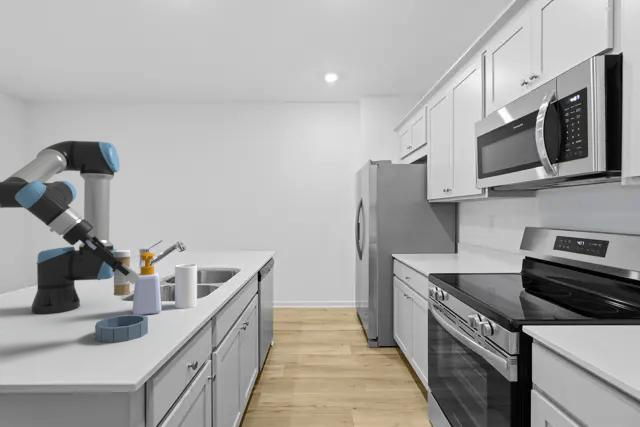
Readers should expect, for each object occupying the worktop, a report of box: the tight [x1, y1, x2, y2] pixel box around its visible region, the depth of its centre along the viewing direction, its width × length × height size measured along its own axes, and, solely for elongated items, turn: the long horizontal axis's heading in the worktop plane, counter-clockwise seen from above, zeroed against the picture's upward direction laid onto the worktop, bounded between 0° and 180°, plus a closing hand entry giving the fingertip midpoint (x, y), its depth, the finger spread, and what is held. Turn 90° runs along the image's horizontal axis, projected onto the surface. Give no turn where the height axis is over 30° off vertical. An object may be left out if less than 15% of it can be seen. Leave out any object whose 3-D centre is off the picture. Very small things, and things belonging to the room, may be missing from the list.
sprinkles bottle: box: [113, 249, 131, 297], centre depth 115 cm, size 5×5×14 cm
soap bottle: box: [132, 251, 162, 316], centre depth 138 cm, size 10×14×22 cm
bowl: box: [94, 314, 149, 343], centre depth 115 cm, size 14×14×4 cm
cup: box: [174, 263, 198, 309], centre depth 149 cm, size 8×8×16 cm
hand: (135, 279), depth 117 cm, fingers closed on sprinkles bottle, 4 cm apart
